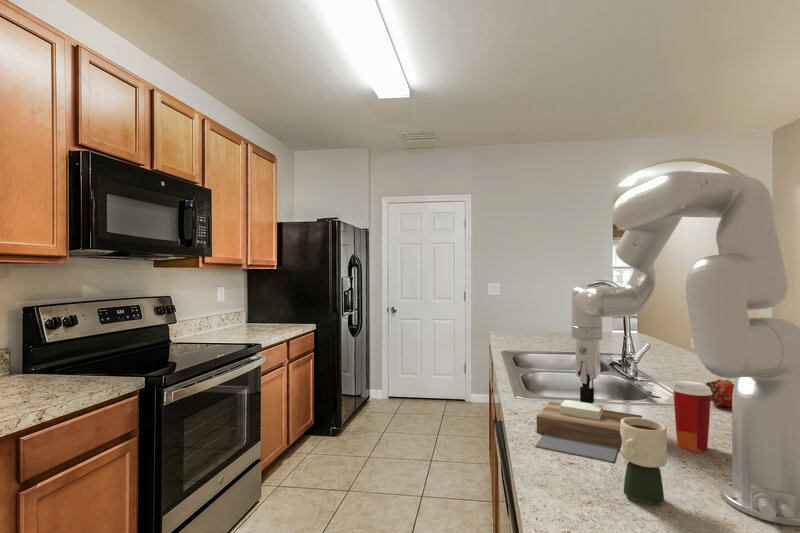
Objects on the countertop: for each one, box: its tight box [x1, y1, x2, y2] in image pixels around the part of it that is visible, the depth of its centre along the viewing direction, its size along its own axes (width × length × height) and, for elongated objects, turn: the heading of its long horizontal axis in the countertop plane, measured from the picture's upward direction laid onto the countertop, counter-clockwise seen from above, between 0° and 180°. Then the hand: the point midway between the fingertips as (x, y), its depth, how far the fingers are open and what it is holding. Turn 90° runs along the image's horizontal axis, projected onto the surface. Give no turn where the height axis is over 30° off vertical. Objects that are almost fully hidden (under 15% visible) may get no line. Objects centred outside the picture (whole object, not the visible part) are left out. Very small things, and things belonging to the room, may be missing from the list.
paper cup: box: [670, 380, 713, 453], centre depth 100 cm, size 8×8×14 cm
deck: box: [536, 401, 643, 449], centre depth 109 cm, size 14×22×4 cm, turn 59°
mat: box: [534, 433, 619, 464], centre depth 100 cm, size 9×16×1 cm, turn 59°
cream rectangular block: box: [560, 399, 604, 420], centre depth 111 cm, size 6×9×2 cm, turn 59°
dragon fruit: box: [705, 379, 735, 409], centre depth 130 cm, size 8×8×12 cm
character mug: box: [619, 417, 668, 505], centre depth 77 cm, size 11×7×13 cm, turn 125°
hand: (587, 402), depth 118 cm, fingers closed
